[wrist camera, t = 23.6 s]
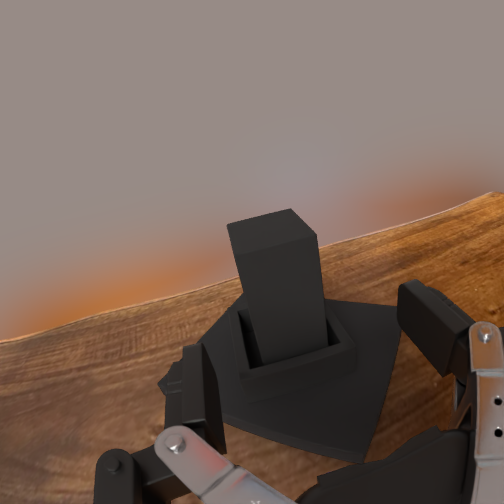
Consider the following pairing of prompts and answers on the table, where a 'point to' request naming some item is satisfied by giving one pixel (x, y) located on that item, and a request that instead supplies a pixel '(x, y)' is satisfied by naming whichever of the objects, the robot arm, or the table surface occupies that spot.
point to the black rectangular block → (281, 283)
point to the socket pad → (322, 404)
